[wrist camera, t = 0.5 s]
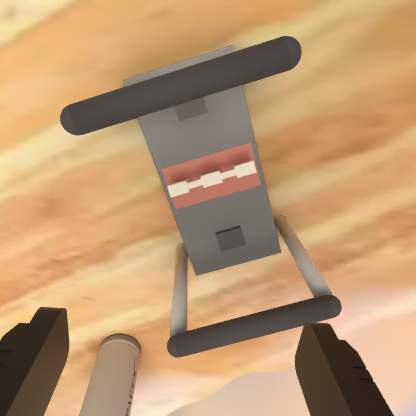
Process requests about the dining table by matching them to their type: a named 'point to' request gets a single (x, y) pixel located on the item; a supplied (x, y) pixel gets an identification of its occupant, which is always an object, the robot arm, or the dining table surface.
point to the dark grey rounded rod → (182, 86)
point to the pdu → (216, 187)
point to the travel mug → (113, 378)
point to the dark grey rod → (254, 325)
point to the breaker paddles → (211, 178)
